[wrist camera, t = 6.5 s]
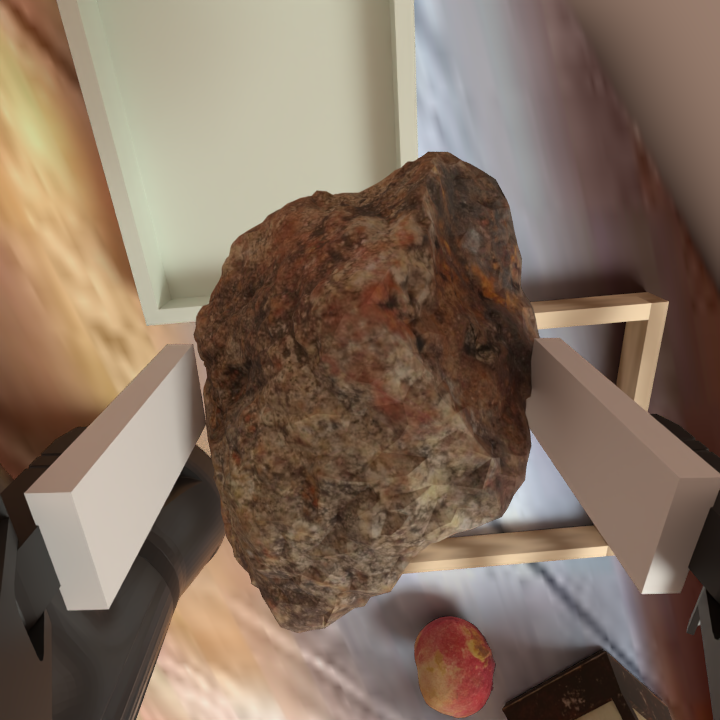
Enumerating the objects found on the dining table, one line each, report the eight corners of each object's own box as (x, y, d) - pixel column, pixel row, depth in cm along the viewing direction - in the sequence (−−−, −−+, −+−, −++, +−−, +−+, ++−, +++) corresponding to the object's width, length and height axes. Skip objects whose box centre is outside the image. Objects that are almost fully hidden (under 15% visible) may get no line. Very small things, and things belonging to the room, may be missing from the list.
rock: (552, 333, 19) (444, 96, 15) (729, 444, 11) (593, 11, 8) (262, 503, 21) (101, 324, 17) (236, 708, 13) (-78, 455, 9)
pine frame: (325, 558, 43) (324, 580, 41) (290, 322, 34) (286, 334, 32) (604, 534, 43) (619, 554, 41) (646, 292, 34) (668, 301, 32)
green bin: (165, 309, 33) (146, 325, 30) (69, -63, 25) (29, -95, 22) (414, 288, 33) (421, 301, 30) (401, -91, 25) (410, -128, 22)
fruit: (414, 593, 46) (429, 676, 38) (489, 598, 46) (517, 681, 39) (400, 645, 49) (411, 732, 41) (471, 650, 49) (494, 735, 42)
